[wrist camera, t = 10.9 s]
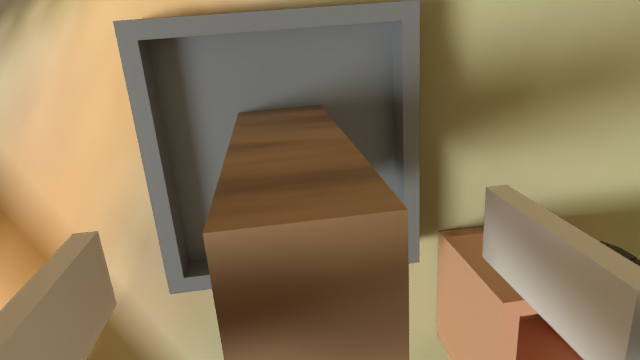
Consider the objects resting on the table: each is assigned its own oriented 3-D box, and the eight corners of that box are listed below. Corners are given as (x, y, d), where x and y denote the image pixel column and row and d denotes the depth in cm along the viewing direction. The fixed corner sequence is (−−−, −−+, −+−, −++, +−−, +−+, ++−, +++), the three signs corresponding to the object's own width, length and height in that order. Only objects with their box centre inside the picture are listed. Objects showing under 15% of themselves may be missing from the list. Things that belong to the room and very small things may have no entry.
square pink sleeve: (544, 319, 36) (632, 408, 27) (437, 335, 35) (493, 432, 26) (555, 217, 33) (659, 281, 24) (438, 231, 32) (503, 303, 23)
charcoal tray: (405, 241, 32) (419, 262, 29) (178, 269, 30) (169, 294, 27) (403, 3, 27) (419, -1, 24) (129, 22, 25) (113, 21, 22)
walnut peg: (326, 182, 29) (409, 372, 12) (248, 191, 28) (231, 399, 12) (320, 105, 27) (408, 209, 11) (238, 112, 26) (202, 233, 10)
